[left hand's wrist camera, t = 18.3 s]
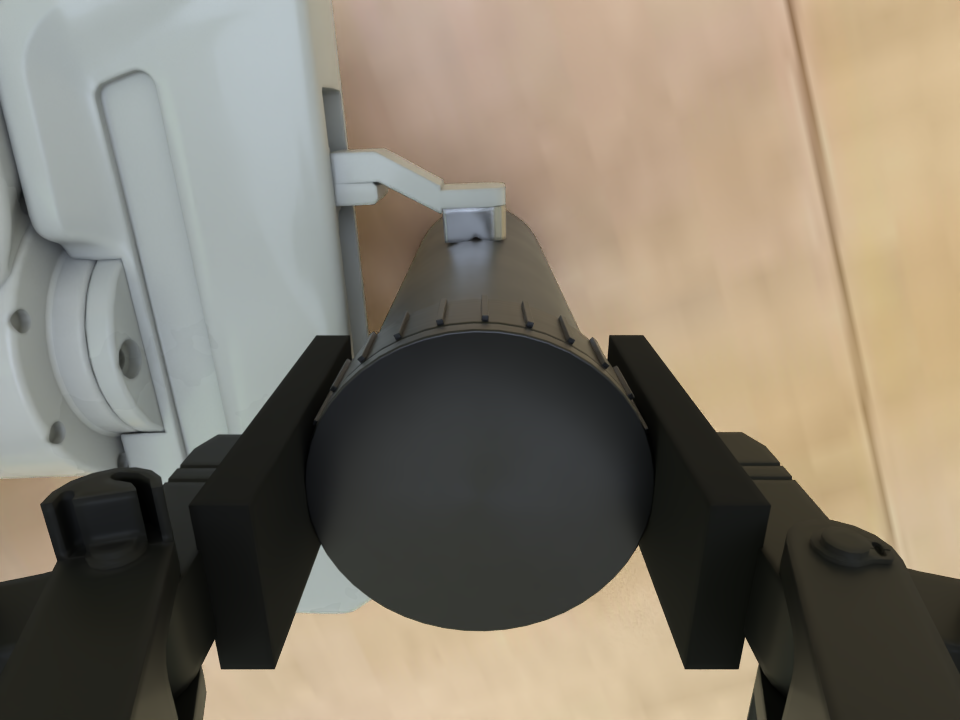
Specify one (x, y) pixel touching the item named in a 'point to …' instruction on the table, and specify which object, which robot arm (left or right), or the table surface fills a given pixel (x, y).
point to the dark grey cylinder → (480, 273)
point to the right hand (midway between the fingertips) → (508, 317)
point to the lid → (479, 467)
